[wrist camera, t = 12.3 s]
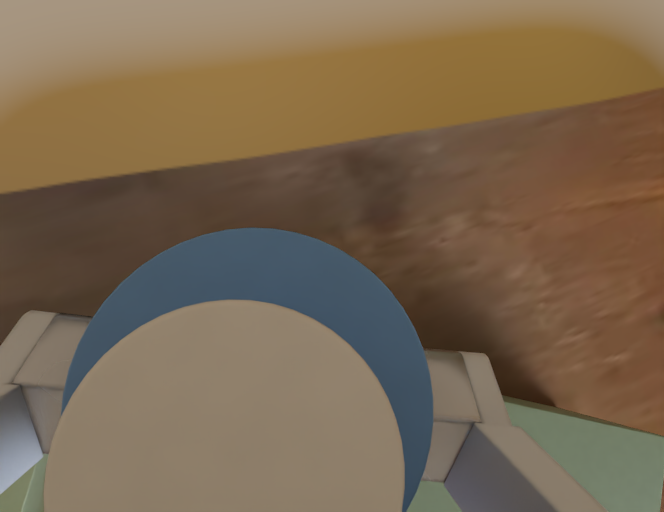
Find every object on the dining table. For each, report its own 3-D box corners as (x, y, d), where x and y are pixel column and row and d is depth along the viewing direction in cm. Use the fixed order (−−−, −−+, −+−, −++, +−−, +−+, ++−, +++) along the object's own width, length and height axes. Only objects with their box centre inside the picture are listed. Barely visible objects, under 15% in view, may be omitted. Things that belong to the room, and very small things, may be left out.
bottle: (356, 306, 19) (617, 215, 4) (325, 455, 18) (523, 969, 3) (214, 274, 18) (-24, 57, 4) (174, 423, 17) (-320, 853, 3)
